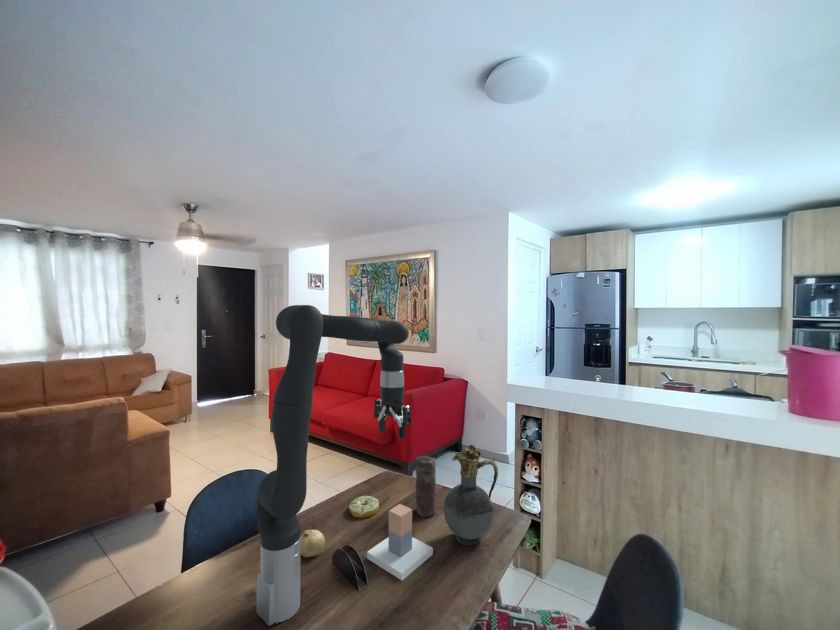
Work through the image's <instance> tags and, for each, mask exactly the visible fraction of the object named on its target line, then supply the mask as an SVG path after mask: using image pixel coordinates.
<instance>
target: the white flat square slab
mask: <svg viewBox="0 0 840 630" xmlns="http://www.w3.org/2000/svg"><path fill="white" fill-rule="evenodd" d="M388 548H389V536H388V537H386V538H385V539H384V540H382V541H380V542H379V543H378V544H375V546H374V547H371V549H368V551H367V552H366V559H367V560H369V561H371V562H372V563H374V564H375V565H377V566H378V567H379V568H381V569H383V570H385V571H386V572H387V573H389V574H391V575H392V576H394V577H396V578H397V579H399V581H404V580H405V579H406V578H407V577H408V576H410V574H412V573H414V571H415V570H417V569H418V568H419V567H420V566H421V565H422V564H424V563H425V562H426V561H427V560H428V559H429V558H431V557H432V556H433V554H434V552H433V551H434V548H433V547H432V546H430V545H428V544H427V543H424V542H423V541H420V540H418V539H417V538H415V537H413V536H412V549H411V550H410V551H409V552H408V553H406V554H405V555H404V556H402V557H401V558H400V557H399V556H397V555H395V554H394V553H392V552H390V551H388Z"/></svg>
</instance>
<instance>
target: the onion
mask: <svg viewBox="0 0 840 630" xmlns="http://www.w3.org/2000/svg"><path fill="white" fill-rule="evenodd" d="M325 544H326V538H325V535H324V534H323V532H321V531H319V530H318V529H310V528H309V529H306V530H304V531H303V533H302V535H301V546H300V556H302V557H304V558H313V557H317V556H318V555H320V554H321V552H322V551H323V549H324V547H325Z"/></svg>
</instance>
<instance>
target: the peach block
mask: <svg viewBox="0 0 840 630" xmlns="http://www.w3.org/2000/svg"><path fill="white" fill-rule="evenodd" d="M410 530H412V531H413V509H412V508H410V507H408V506H406V505H404V504H402V503H399V504H397V505H395V506H394V507H392V508H391V509H389V510H388V532H389V531H390V532H392V533H394V534H396V535H398V536H400V537H402V536H403V535H405V534H406V533H407V532H409V531H410Z"/></svg>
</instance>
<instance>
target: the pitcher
mask: <svg viewBox="0 0 840 630" xmlns="http://www.w3.org/2000/svg"><path fill="white" fill-rule="evenodd" d="M464 451H465V452H464ZM464 451H463V452H457V453H456V452H455V455H453V457H451V461H452V462H455V461H458V463H459V465H460V472H459V473H460V484H457V485H456V486H454V487H453V488H452V489H450V490H449V491H448V493H447V495H446V497H445V499H444V504H443V515H444V518H445V522H446V525H447V526H448V528H449V529H450V530H451V532H452V533H453V534H454V535H455V539H456V541H457V542H458V543H459V544H460V545H463V546H473V545H476V544H478V543H479V542H480V541H481V537H482V536H483V535H485V533H487V532H488V531H489V530H490V528H491V525H492V522H493V520H494V519H493V518H494V514H495V509H494V507H493V504H492V499H491V498H492V497H491V496H492V492H493V490H494V488H495V486H496V483H497V480H498V476H499V467H498V464H497V463H496V462H495V461H494V460H492V459H484V460H482V461H479V460H480V459H481V457H482V452H483V450H479V449H478V448H476V445H475V444H469V445H467V446H466V448H465V450H464ZM487 465H489V466H490V465H491V466H492V468H493V471H494V474H493V481H492V484H491V486H490V490H489V492H488V493H487V492H486V490H485V489H483V488H482V487H480V486H478V485H477V476H478V470H479V469H481V468H483V467H485V466H487Z"/></svg>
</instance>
